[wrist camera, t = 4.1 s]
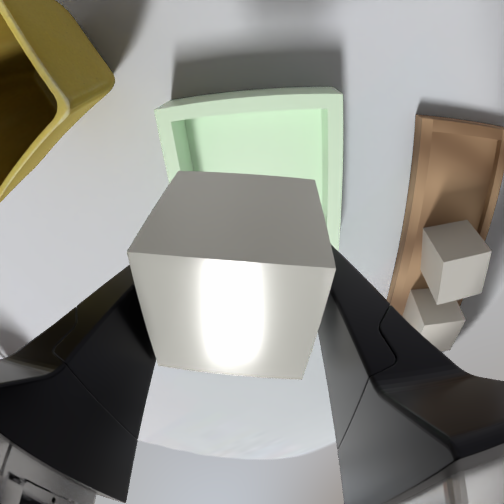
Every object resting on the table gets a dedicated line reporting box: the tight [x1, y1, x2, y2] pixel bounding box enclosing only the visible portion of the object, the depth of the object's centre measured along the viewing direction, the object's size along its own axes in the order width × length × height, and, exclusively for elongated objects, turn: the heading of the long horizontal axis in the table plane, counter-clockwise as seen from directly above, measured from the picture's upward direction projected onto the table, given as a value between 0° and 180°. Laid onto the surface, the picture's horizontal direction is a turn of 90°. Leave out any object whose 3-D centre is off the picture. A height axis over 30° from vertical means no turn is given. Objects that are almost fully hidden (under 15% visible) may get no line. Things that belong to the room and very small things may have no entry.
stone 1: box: [403, 288, 466, 351], centre depth 24 cm, size 4×4×4 cm
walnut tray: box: [387, 114, 504, 316], centre depth 21 cm, size 20×8×1 cm, turn 6°
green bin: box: [154, 87, 343, 251], centre depth 19 cm, size 12×10×3 cm
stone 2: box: [127, 171, 336, 380], centre depth 9 cm, size 4×4×4 cm
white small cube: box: [420, 220, 492, 305], centre depth 20 cm, size 4×4×4 cm
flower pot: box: [0, 0, 115, 202], centre depth 12 cm, size 9×9×9 cm
